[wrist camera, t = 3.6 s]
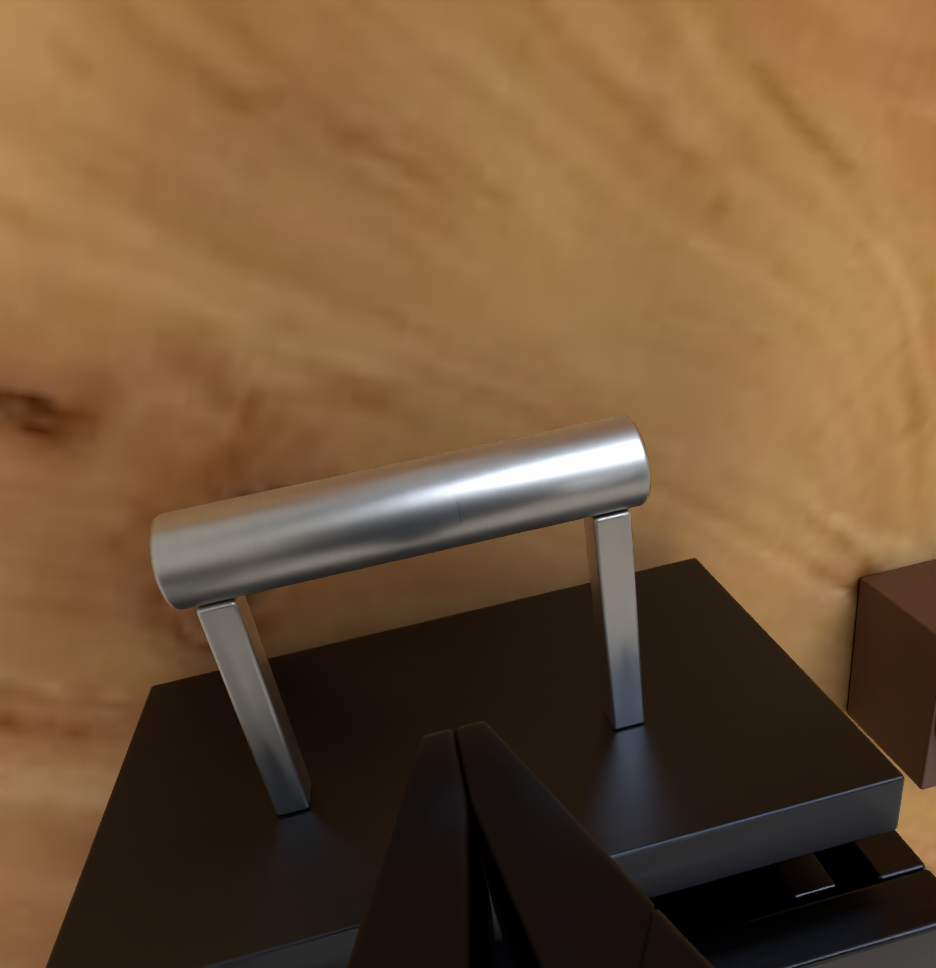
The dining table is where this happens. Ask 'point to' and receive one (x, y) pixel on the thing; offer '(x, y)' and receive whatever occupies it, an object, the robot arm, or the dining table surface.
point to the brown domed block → (898, 667)
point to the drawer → (460, 718)
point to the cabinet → (843, 917)
